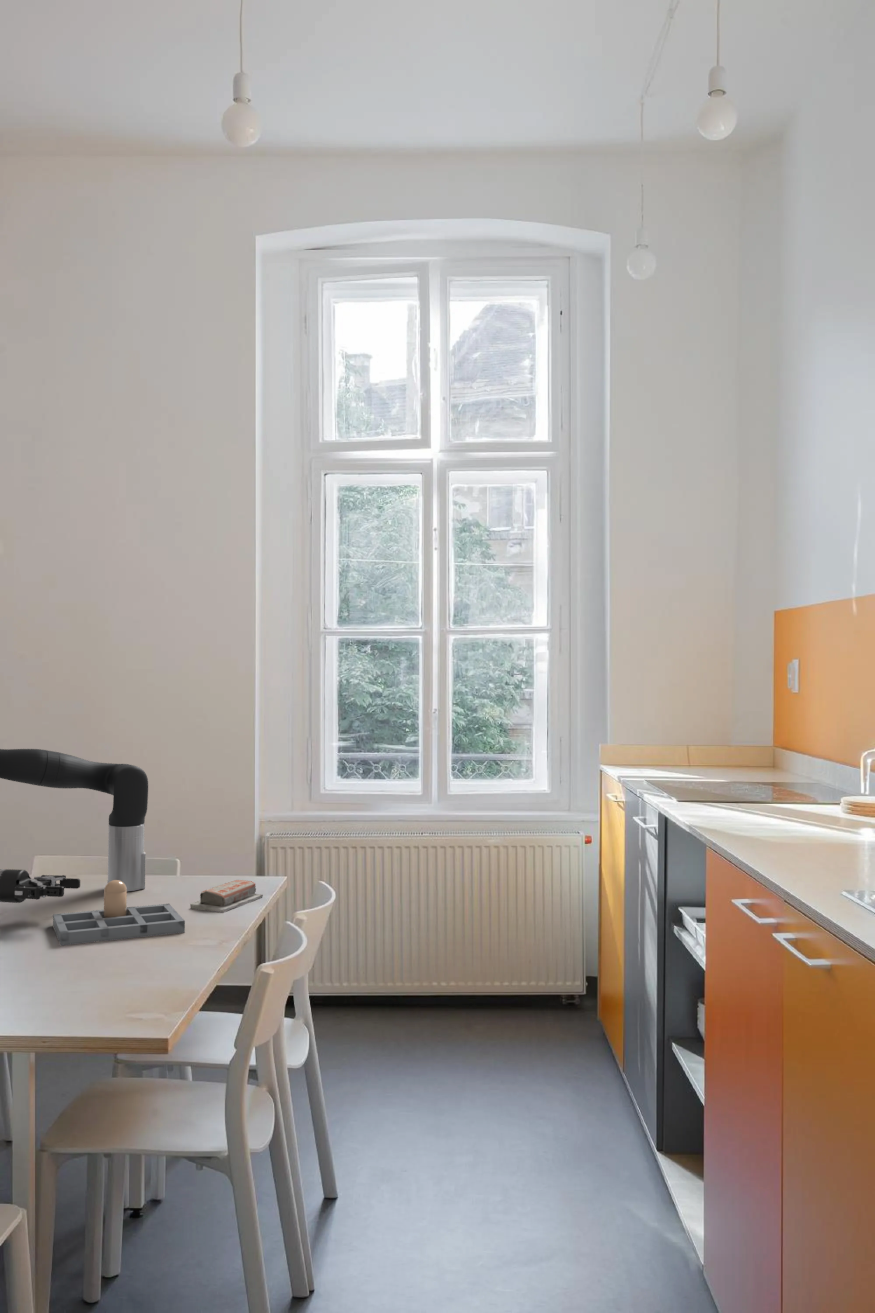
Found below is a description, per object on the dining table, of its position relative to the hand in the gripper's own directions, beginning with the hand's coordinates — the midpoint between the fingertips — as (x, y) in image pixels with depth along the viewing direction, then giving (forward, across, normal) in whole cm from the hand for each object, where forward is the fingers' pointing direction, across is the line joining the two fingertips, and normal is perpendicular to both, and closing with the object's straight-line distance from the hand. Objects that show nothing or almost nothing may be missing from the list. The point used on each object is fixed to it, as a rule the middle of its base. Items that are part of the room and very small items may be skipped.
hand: (71, 887), depth 227 cm
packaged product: (+30, +24, +9) cm, 40 cm away
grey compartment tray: (+12, -4, +8) cm, 15 cm away
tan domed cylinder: (+10, 0, +8) cm, 13 cm away
